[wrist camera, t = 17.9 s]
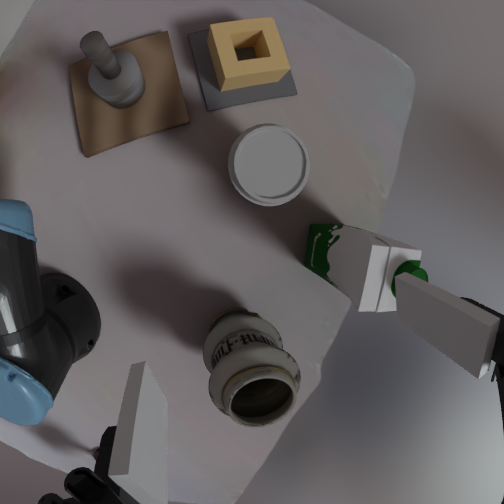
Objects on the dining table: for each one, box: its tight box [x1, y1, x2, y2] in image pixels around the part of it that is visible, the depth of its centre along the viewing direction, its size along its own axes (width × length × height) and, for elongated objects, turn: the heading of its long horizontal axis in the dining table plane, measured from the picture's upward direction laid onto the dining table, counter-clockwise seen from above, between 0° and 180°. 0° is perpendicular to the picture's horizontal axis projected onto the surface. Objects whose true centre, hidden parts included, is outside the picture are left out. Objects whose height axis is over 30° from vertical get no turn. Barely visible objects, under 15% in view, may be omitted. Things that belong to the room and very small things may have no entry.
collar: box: [207, 17, 291, 92], centre depth 35 cm, size 9×9×6 cm
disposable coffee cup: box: [228, 124, 310, 206], centre depth 37 cm, size 10×10×12 cm
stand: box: [69, 31, 190, 158], centre depth 28 cm, size 16×16×18 cm
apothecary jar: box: [203, 308, 301, 427], centre depth 40 cm, size 12×12×18 cm
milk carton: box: [305, 224, 428, 312], centre depth 38 cm, size 9×9×20 cm
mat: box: [188, 30, 297, 112], centre depth 38 cm, size 14×14×1 cm
